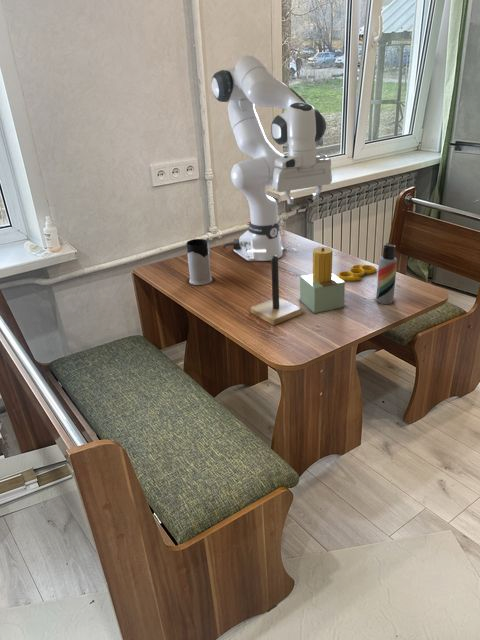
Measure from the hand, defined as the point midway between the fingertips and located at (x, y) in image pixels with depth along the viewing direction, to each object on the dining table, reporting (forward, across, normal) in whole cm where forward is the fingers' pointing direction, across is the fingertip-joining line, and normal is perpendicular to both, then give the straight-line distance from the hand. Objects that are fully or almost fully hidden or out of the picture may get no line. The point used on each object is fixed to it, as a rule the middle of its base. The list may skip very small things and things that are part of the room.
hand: (303, 201), depth 178 cm
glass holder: (+30, +30, -25) cm, 50 cm away
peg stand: (+31, +18, +15) cm, 39 cm away
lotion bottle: (+32, -19, +23) cm, 43 cm away
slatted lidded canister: (+22, +1, +17) cm, 28 cm away
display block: (+31, +1, +15) cm, 35 cm away
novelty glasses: (+31, -22, -1) cm, 38 cm away
